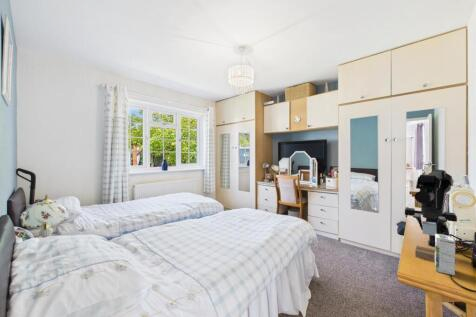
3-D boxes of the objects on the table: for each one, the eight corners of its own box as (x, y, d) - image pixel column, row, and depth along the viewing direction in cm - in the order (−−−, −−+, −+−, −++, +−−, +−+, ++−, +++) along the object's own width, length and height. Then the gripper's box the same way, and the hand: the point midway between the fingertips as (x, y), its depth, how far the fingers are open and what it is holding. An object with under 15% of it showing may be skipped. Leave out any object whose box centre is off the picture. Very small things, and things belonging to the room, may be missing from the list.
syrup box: (434, 265, 92) (434, 233, 92) (453, 269, 88) (453, 236, 88) (435, 271, 88) (435, 237, 87) (456, 276, 84) (455, 240, 83)
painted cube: (422, 230, 107) (422, 221, 106) (435, 232, 103) (435, 222, 103) (422, 233, 103) (422, 223, 103) (436, 236, 100) (436, 225, 99)
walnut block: (417, 252, 105) (416, 245, 104) (436, 256, 100) (436, 249, 99) (415, 257, 100) (415, 250, 100) (435, 262, 95) (435, 255, 95)
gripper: (403, 200, 103) (404, 231, 103) (458, 206, 91) (458, 241, 91) (405, 196, 111) (405, 225, 112) (455, 201, 99) (455, 233, 99)
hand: (429, 231), depth 103 cm, fingers closed on painted cube, 5 cm apart
